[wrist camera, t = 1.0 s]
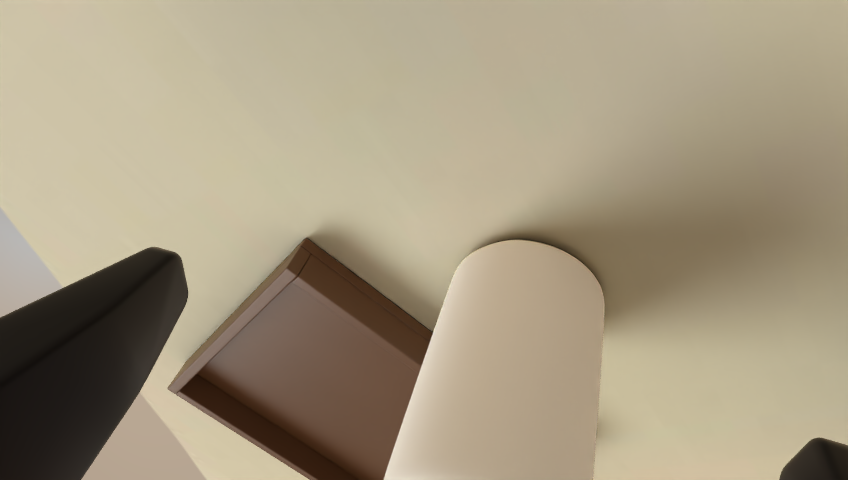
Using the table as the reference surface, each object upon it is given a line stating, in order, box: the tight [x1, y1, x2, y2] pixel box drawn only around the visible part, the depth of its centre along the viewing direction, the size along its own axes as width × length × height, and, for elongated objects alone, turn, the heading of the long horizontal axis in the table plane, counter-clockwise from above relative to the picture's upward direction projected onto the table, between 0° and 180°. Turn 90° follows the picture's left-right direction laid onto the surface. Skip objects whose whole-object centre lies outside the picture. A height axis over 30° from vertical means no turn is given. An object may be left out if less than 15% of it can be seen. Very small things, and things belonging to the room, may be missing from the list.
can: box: [384, 239, 605, 480], centre depth 22 cm, size 6×6×12 cm
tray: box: [168, 238, 433, 480], centre depth 34 cm, size 17×15×2 cm
